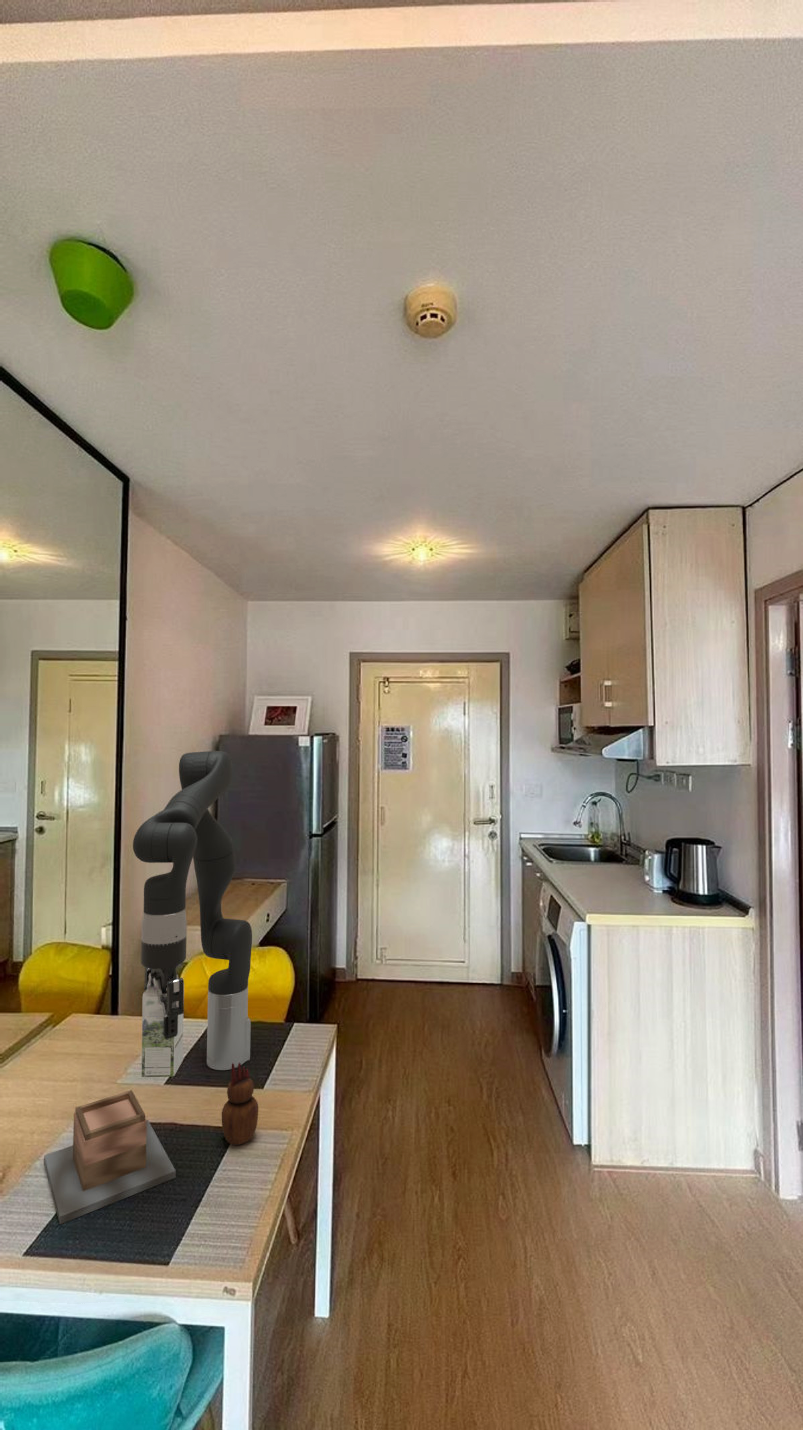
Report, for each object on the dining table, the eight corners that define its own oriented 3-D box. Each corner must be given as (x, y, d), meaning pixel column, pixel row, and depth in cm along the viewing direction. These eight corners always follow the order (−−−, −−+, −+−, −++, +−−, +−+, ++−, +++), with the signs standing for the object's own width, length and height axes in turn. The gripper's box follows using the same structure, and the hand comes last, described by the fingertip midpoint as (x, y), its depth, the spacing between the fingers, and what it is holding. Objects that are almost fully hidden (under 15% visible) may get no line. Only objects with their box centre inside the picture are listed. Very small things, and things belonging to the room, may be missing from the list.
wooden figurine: (224, 1153, 116) (226, 1071, 117) (218, 1136, 121) (220, 1057, 122) (261, 1143, 119) (262, 1063, 120) (253, 1126, 124) (254, 1049, 125)
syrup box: (184, 1060, 114) (185, 979, 114) (173, 1078, 108) (175, 993, 108) (151, 1061, 113) (153, 980, 114) (140, 1079, 108) (141, 994, 108)
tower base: (147, 1126, 124) (148, 1073, 124) (175, 1177, 110) (176, 1118, 110) (44, 1162, 113) (45, 1104, 114) (59, 1224, 99) (61, 1158, 99)
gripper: (199, 942, 108) (198, 1037, 107) (172, 921, 119) (170, 1008, 119) (154, 951, 103) (153, 1051, 103) (130, 929, 114) (129, 1019, 114)
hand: (162, 1028), depth 111 cm, fingers closed on syrup box, 8 cm apart
